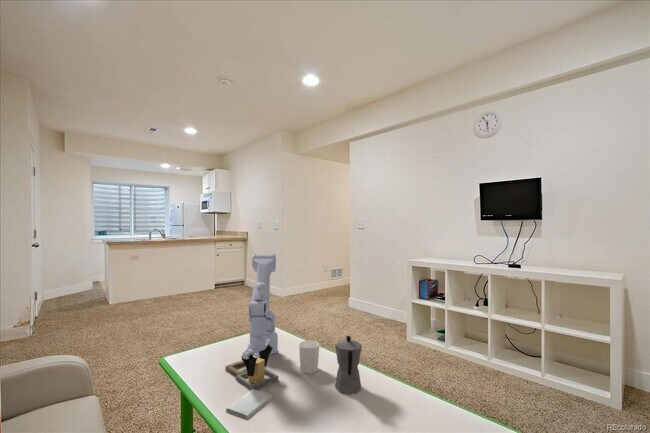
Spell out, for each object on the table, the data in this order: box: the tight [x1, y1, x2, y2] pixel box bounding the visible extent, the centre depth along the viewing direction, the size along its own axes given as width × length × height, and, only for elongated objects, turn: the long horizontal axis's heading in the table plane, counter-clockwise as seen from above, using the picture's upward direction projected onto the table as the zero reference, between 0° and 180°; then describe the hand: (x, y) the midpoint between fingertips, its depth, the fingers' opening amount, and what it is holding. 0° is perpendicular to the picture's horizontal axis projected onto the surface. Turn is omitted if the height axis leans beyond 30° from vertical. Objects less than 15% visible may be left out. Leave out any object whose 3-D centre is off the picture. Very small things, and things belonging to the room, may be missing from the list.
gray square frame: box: [235, 367, 279, 391], centre depth 114 cm, size 11×11×2 cm
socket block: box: [224, 359, 247, 378], centre depth 121 cm, size 9×9×2 cm
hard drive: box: [225, 389, 273, 420], centre depth 99 cm, size 2×8×12 cm
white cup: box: [298, 340, 320, 374], centre depth 123 cm, size 8×8×10 cm
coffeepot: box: [334, 335, 363, 395], centre depth 109 cm, size 15×9×18 cm, turn 179°
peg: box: [248, 357, 266, 384], centre depth 114 cm, size 4×4×7 cm
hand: (257, 371), depth 114 cm, fingers open, 7 cm apart
